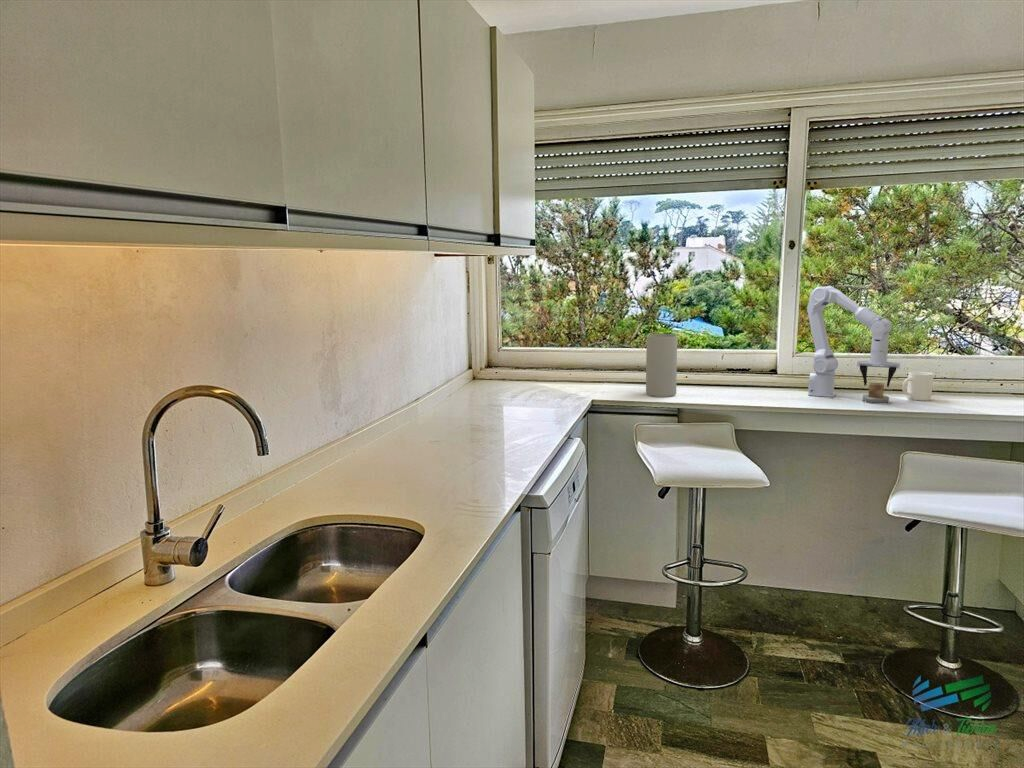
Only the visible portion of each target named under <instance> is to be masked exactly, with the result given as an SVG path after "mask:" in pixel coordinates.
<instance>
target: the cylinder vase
mask: <svg viewBox="0 0 1024 768" xmlns="http://www.w3.org/2000/svg"><path fill="white" fill-rule="evenodd" d="M645 347H646V352H645V353H646V355H645V356H646V357H645V358H646V360H645V362H646V363H645V376H646V377H645V393H646V395H647V396H649V397H656V398H670V397H675V395H677V378H678V377H677V376H678V375H677V374H678V373H677V372H678V371H677V370H678V334H670V333H653V334H647V335H646V346H645Z"/></svg>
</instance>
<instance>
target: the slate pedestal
mask: <svg viewBox="0 0 1024 768" xmlns="http://www.w3.org/2000/svg"><path fill="white" fill-rule="evenodd" d="M868 395H869V393H868V394H863V395H862V402H863V401H866V402H872V403H871V404H873V403H887V404H889V403H890V397H889V396H888V395H884V394H883V398H872V397H868ZM866 402H865V403H866ZM888 402H889V403H888Z"/></svg>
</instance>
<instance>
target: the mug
mask: <svg viewBox="0 0 1024 768" xmlns="http://www.w3.org/2000/svg"><path fill="white" fill-rule="evenodd" d="M933 382H934V373H932V372H928V371H909V372H908V375H907V378H905V379H904V380H903V382H902V386H901V390H902V393H903V394H904V395H905V396H906V398H907V399H908V398H909V399H908V400H910V399H913V400H912V401H916V400H928V401H930V400H932V391H933V384H934V383H933Z"/></svg>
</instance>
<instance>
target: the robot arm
mask: <svg viewBox="0 0 1024 768" xmlns="http://www.w3.org/2000/svg"><path fill="white" fill-rule="evenodd" d="M830 303H833V304H834V303H835V304H838V305H839V306H841V307H843V308H845V309H846V310H848V311H850V312H851V313H852V314H853V315H854V319H856V320H857V321H858V322H860V323H861V324H862V325H864V326H865V327H866V328H868V329H869V330H870V332H871V334H872V336H871V343H870V356H869V357H870V359H869V360H856V367H859V370H860V373H861V375H862V379H863V385H864V386H867V383H868V381H867V379H868V377H867V376H868V368H884V369H888V377H887V382H886V388H889V387H890V384H891V381H892V379H893V377H894V374H895V373H896V371H897V369H898V370H899V369H901V363H900V362H891V361H888V353H889V341H890V340H889V339H890V337H889V336H890V332H891V331H892V328H893V324H892V322H891V321H890V320H889V318H883V316H882V315H878V314H877V313H876V312H874V311H873V308H872V307H867V306H860V305H858V303H856V302H854V301H853V300H852V299H851V298H849V297H848V296H847V295H846V294H844V293H843V292H842V291H841V290H839V289H838V288H836V287H834V286H833V285H827V286H817V287H815V288H814V289H813V290H812V291H811V292H810V293H809V300H808V303H807V308H806V310H807V311H806V312H807V316H808V321H809V326H810V330H811V335H812V340H813V344H814V349H815V353H814V355H813V365H812V367H813V370H814V372H809V373H810V374H809V378H808V393H807V396H813V397H814V396H815V397H828V398H829V397H830V398H834V397H835V396H836V392H835V380H836V379H835V378H836V377H835V374H836V373H835V371H836V370H837V368H838V366H839V361H838V359H837V358H836V357H835V354H834V351H832V349H831V347H830V343H829V337H828V333H827V328H826V323H825V318H824V315H823V310H824V309H825V308H826V307H827V306H828V304H829V305H830Z"/></svg>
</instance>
